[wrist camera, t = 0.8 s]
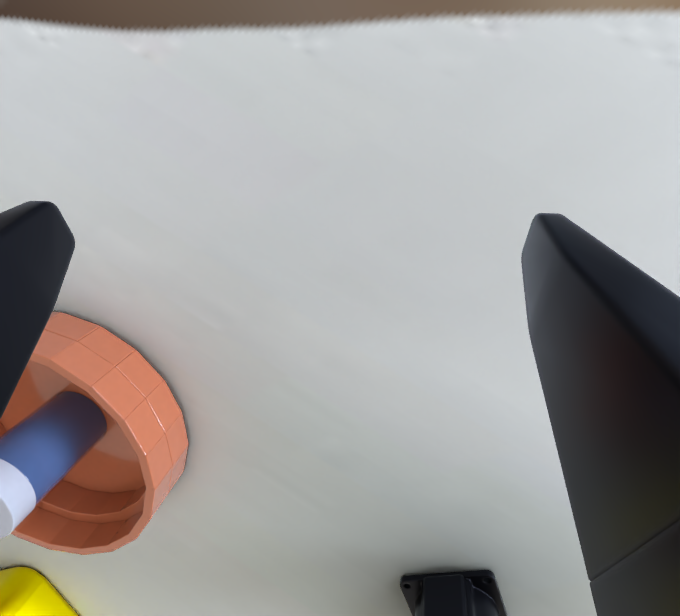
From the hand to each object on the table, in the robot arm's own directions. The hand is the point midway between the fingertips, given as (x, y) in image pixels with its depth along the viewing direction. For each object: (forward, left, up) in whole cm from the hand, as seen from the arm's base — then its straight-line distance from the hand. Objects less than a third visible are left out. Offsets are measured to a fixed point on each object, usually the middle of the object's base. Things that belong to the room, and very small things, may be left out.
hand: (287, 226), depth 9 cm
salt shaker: (-10, +25, -14) cm, 30 cm away
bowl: (-10, +25, -14) cm, 30 cm away
